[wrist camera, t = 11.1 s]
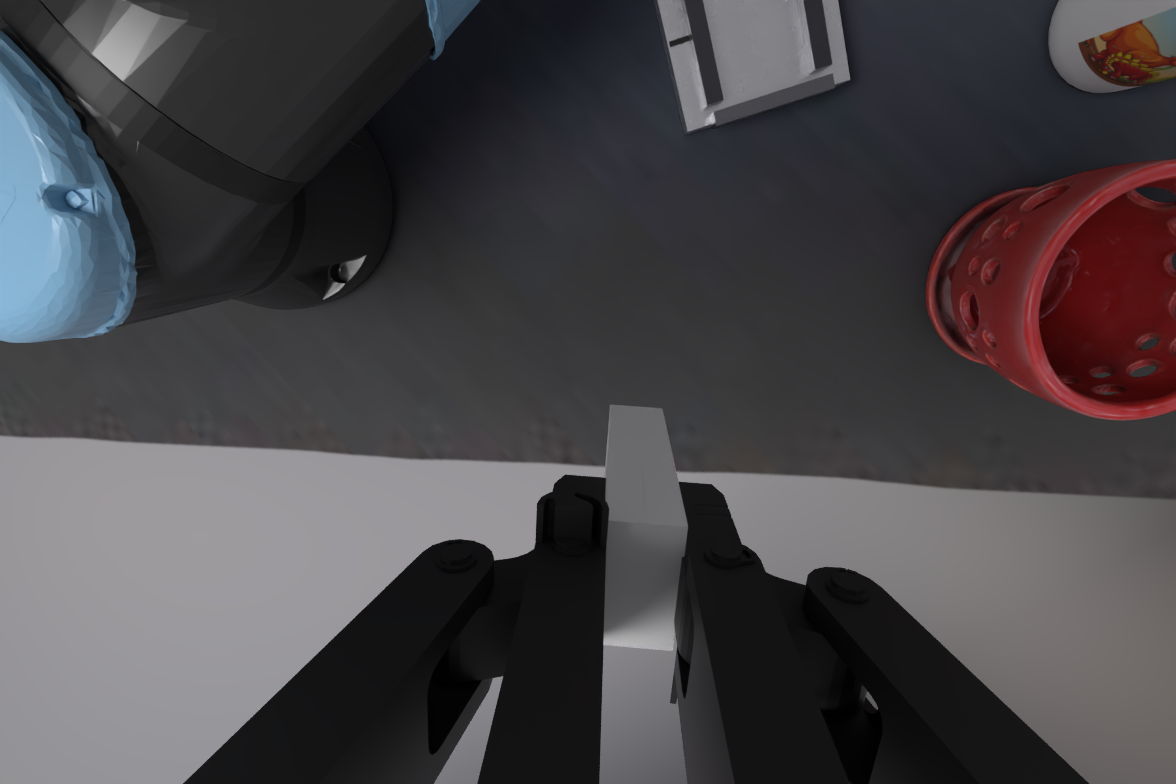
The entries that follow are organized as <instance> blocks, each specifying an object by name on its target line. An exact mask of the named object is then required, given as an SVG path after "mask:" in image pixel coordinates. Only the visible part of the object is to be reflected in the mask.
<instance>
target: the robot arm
mask: <svg viewBox="0 0 1176 784" xmlns="http://www.w3.org/2000/svg"><path fill="white" fill-rule="evenodd" d="M480 1H481V0H0V340H2V341H5V342H11V343H31V342H41V341H49V340H58V339H67V338H75V337H78V338H88V337H91V336H98V335H103V333H107V332H111V331H112V330H113V329H114V328H117V327H121V326H125V325H129V324H133V323H137V322H141V321H145V320H149V319H153V318H157V317H161V316H166V315H170V314H174V313H178V312H182V311H186V310H190V309H194V308H198V307H202V306H206V305H210V304H214V303H218V302H222V301H226V300H230V299H234V300H238V301H242V302H245V303H249V304H253V305H257V306H261V307H265V308H271V309H285V310H289V309H302V308H308V307H313V306H316V305H320V304H323V303H326V302H329V301H332V300H335V299H337V298H340V297H342V296H344V295H346V294H347V293H349V292H351V291H352V290H354V289H355V288H356V287H358V286H359V285H360V284H361V283H362V282H364V280H365V279H366V278H367V277H368V276H369V275H370V274H371V273H372V272H373V270H374V269H375V267H376V266H377V264H378V263H379V261H380V259H381V257H382V255H383V253H384V251H385V248H386V246H387V243H388V240H389V236H390V232H391V226H392V218H393V198H392V190H391V184H390V179H389V175H388V172H387V169H386V166H385V163H384V160H383V158H382V156H381V153H380V151H379V149H378V147H377V145H376V143H375V142H374V140H373V138H372V137H371V135H370V134H369V132H368V131H367V129H366V128H365V127H364V125H365V124H366V123H367V122H368V121H369V120H370V119H371V118H372V117H373V116H374V115H375V114H376V113H377V112H378V111H379V110H380V109H381V108H382V107H383V106H384V105H385V103H386V102H387V101H388V100H389V99H390V98H391V97H392V96H393V95H394V94H395V93H396V92H397V91H398V90H399V89H400V88H401V87H402V86H403V85H404V84H405V83H406V82H407V81H408V80H409V79H410V78H411V77H412V76H413V75H414V73H415V72H416V71H417V70H418V69H419V68H420V67H421V66H422V65H423V64H424V63H425V62H426V61H427V60H428V59H429V58H430V59H432V60H435V59H436V58H437V57H438V56H440V54H441V53H442V51H443V50H444V45H445V41H446V39H447V38H448V37H449V36H450V35H451V34H452V33H453V31H454V30H455V29H456V28H457V27H458V26H459V25H460V23H461V22H462V21H463V20H464V19H465V18H466V17H467V15H468V14H469V13H470V12H471V11H472V10H473V9H474V8H475V6H476V5H477V4H478V3H479V2H480ZM536 522H537V523H536V543H535V548H534V550H532V551H530V552H529V553H527V554H524V555H521V556H519V557H515V558H510V559H503V560H495V561H494V558H493V554H492V551H490V549H488V548H487V547H486V546H485V545H483V544H480V543H477V542H475V541H469V540H462V539H458V540H448V541H444V542H441V543H439V544H435V545H432V546H431V547H429V548H428V549H426V550H425V551H424V552H422V553H421V554H420V555H419V556H418V557H417V558H416V559H415V560H414V561H413V562H412V563H411V564H410V565H409V566H408V567H407V568H406V569H405V570H404V571H403V572H402V573H401V574H399V575H398V577H397V578H395V579H394V580H393V581H392V582H391V583H390V584H389V585H388V586H387V587H386V588H385V589H384V590H383V591H382V592H381V593H380V594H379V595H378V596H377V597H376V598H375V599H374V600H373V601H372V602H371V603H370V604H369V605H367V607H365V608H364V609H363V610H362V611H361V612H360V613H359V614H358V615H357V616H356V617H355V618H354V619H353V620H352V621H351V622H350V623H349V624H348V625H347V626H346V627H345V628H344V629H343V630H342V631H341V632H339V633H338V634H337V636H335V637H334V638H333V639H332V640H331V641H330V642H329V643H328V644H327V645H326V646H325V647H324V648H323V649H322V650H321V651H320V652H319V653H318V654H317V655H316V656H315V657H314V658H313V659H312V660H311V661H310V662H309V663H307V664H306V665H305V666H304V667H303V668H302V669H301V670H300V671H299V672H298V673H297V674H296V675H295V676H294V677H293V678H292V679H291V680H290V681H289V682H288V683H287V684H286V685H285V686H284V687H283V688H282V689H281V690H280V691H279V692H277V693H276V694H275V695H274V696H273V697H272V698H271V699H270V700H269V701H268V702H267V703H266V704H265V705H264V706H263V707H262V708H261V709H260V710H259V711H258V712H257V713H256V714H255V715H254V716H253V717H252V718H251V719H250V720H249V721H247V722H246V724H244V725H243V726H242V727H241V728H240V729H239V730H238V731H237V732H236V733H235V734H234V735H233V736H232V737H231V738H230V739H229V740H228V741H227V742H226V743H225V744H224V745H223V746H222V747H221V748H220V749H219V750H217V751H216V752H215V753H214V754H213V755H212V756H211V757H210V758H209V759H208V760H207V761H206V762H205V763H204V764H203V765H202V766H201V767H200V768H199V769H198V770H197V771H196V772H195V773H194V774H193V775H192V776H191V777H190V778H189V779H188V780H187V781H186V782H184V783H183V784H434V782H435V780H436V779H437V777H438V775H439V774H440V772H441V770H442V769H443V767H444V765H445V763H446V762H447V760H448V759H449V757H450V755H451V753H452V752H453V750H454V748H455V746H456V745H457V743H458V742H459V740H460V738H461V737H462V735H463V733H464V731H465V730H466V728H467V726H468V725H469V723H470V721H471V720H472V718H473V716H474V715H475V713H476V711H477V709H478V708H479V706H480V704H481V703H482V701H483V699H484V698H485V696H486V694H487V693H488V691H489V688H490V685H491V682H492V678H495V677H501V676H503V680H502V684H501V688H500V693H499V697H498V701H497V705H496V709H495V713H494V717H493V722H492V726H491V730H490V734H489V738H488V742H487V746H486V751H485V755H484V759H483V763H482V767H481V771H480V775H479V779H478V784H599V770H600V738H601V704H602V673H603V645H610V646H622V647H634V648H647V649H658V650H669V651H673V643H674V635H675V633H676V640H677V653H676V661H675V669H674V676H673V684H672V693H671V700H670V703H674V704H676V701H677V698H678V706H679V714H680V723H681V732H682V740H683V749H684V757H685V765H686V774H687V783H688V784H1089V783H1088V782H1087V781H1086V780H1085V779H1084V778H1083V777H1081V776H1080V775H1079V774H1078V773H1077V772H1076V771H1075V770H1074V769H1073V768H1072V767H1071V766H1069V764H1068V763H1067V762H1066V761H1065V760H1064V759H1062V758H1061V757H1060V756H1059V755H1058V754H1057V753H1056V752H1055V751H1054V750H1053V749H1052V748H1051V747H1050V746H1048V744H1047V743H1045V742H1044V741H1043V740H1042V739H1041V738H1040V737H1039V736H1038V735H1037V734H1036V733H1035V732H1034V731H1033V730H1032V729H1031V728H1030V727H1029V726H1027V724H1025V723H1024V722H1023V721H1022V720H1021V719H1020V718H1019V717H1018V716H1017V715H1016V714H1015V713H1014V712H1012V710H1011V709H1010V708H1008V707H1007V706H1006V705H1005V704H1004V703H1003V702H1002V701H1001V700H1000V699H999V698H998V697H997V696H996V695H995V694H994V693H993V692H992V691H990V690H989V689H988V688H987V687H986V686H985V685H984V684H983V683H982V682H981V681H980V680H979V679H978V678H977V677H976V676H975V675H973V674H972V673H971V672H970V671H969V670H968V669H967V668H966V667H965V666H964V665H963V664H962V663H961V662H960V661H959V660H958V659H957V658H956V657H955V656H954V655H952V654H951V653H950V652H949V651H948V650H947V649H946V648H945V647H944V646H943V645H942V644H941V643H940V642H939V641H938V640H936V638H934V637H933V636H932V635H931V634H930V633H929V632H928V631H927V630H926V629H925V628H924V627H923V626H922V625H921V624H920V623H919V622H918V621H917V620H915V619H914V618H913V617H912V616H911V615H910V614H909V613H908V612H907V611H906V610H905V609H904V608H903V607H902V606H901V605H899V603H897V602H896V601H895V600H894V599H893V598H892V597H891V596H890V595H889V594H888V593H887V592H886V591H885V590H884V589H883V588H882V587H880V586H879V585H878V584H876V583H875V582H873V581H872V580H871V579H869V578H867V577H865V576H863V575H861V574H858V573H857V572H855V571H852V570H849V569H848V570H846V569H845V568H835V567H823V568H819V569H815V570H813V571H812V572H811V573H810V574H809V575H808V577H807V582H806V585H803V584H799V583H795V582H792V581H788V580H784V579H781V578H778V577H775V576H773V575H770V574H768V573H766V572H765V570H764V567H763V564H762V562H761V560H760V558H759V557H758V556H757V554H756V553H755V552H754V551H752V550H751V549H749V548H748V547H746V546H745V545H742V544H741V541H740V538H739V536H738V533H737V530H736V527H735V525H734V522H733V519H732V518H731V514H730V511H729V509H728V506H727V503H726V500H725V497H724V495H723V494H722V493H721V492H720V491H718V490H717V489H716V488H715V487H714V486H713V485H712V484H700V483H687V482H678V478H677V473H676V469H675V464H674V460H673V455H672V450H671V446H670V441H669V437H668V432H667V428H666V423H665V418H664V414H663V409H662V408H650V407H636V406H622V405H610V412H609V425H608V439H607V452H606V465H605V478H601V477H588V476H575V475H564V476H563V477H562V478H561V479H559V480H558V481H557V482H556V483H555V484H554V488H553V492H550V493H548V494H546V495H544V496H543V497H541V499H540V500H539V501H538V503H537V521H536ZM867 691H868V692H869V693H870V694H871V696H872V697H873V699H874V701H875V702H876V704H877V706H878V710H877V709H875V708H874V707H873V706H872V704H871V703H870V702H869V701H868V699H867V698H866V693H867Z"/></svg>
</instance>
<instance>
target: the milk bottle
mask: <svg viewBox="0 0 1176 784" xmlns="http://www.w3.org/2000/svg"><path fill="white" fill-rule="evenodd" d="M1048 48H1049V56H1050V58H1051V60H1052V63H1053V66H1054V68H1055V69H1056V71H1057V72H1058V74H1059V75H1060V76H1061V77H1062V78H1063V79H1064V80H1065V81H1066V82H1067V83H1069V84H1071V85H1073V86H1074V87H1076V88H1078V89H1080V90H1083V91H1086V92H1091V93H1110V92H1116V91H1121V90H1126V89H1131V88H1135V87H1139V86H1144V85H1148V84H1152V83H1157V82H1161V81H1165V80H1170V79H1174V78H1176V0H1059V1H1058V3H1057V5H1056V7H1055V10H1054V12H1053V15H1052V17H1051V22H1050V26H1049V30H1048Z"/></svg>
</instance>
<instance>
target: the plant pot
mask: <svg viewBox="0 0 1176 784" xmlns="http://www.w3.org/2000/svg"><path fill="white" fill-rule="evenodd" d="M1139 187H1156V188H1161V189H1164V190H1167V191H1170V192H1171V193H1172V194H1174V195H1175V196H1176V159H1168V160H1155V161H1145V162H1136V163H1129V164H1122V165H1116V166H1110V167H1105V168H1100V169H1096V170H1091V171H1086V172H1082V173H1078V174H1074V175H1071V176H1068V177H1065V178H1062V179H1059V180H1056V181H1053V182H1050V183H1048V184H1045V185H1043V186H1040V187H1026V188H1019V189H1015V190H1010V191H1007V192H1003V193H1001V194H998V195H996V196H993V197H991V198H989V199H987V200H985V201H983V202H981V203H980V204H978V205H977V206H975V207H974V208H972V209H971V210H970V211H968V212H967V213H966V214H965V215H964V216H962V217H961V218H960V219H959V220H958V221H957V222H956V223H955V224H954V225H953V226H952V227H951V229H950V230H949V231H948V232H947V234H946V235H945V237H944V238H943V239H942V241H941V242H940V244H939V246H938V248H937V250H936V252H935V254H934V256H933V259H932V261H931V264H930V268H929V271H928V276H927V281H926V291H925V292H926V306H927V310H928V314H929V317H930V319H931V321H932V324H933V326H934V328H935V330H936V331H937V333H938V334H939V336H940V337H941V338H942V340H943V341H944V342H945V343H946V344H947V345H948V346H949V347H950V348H951V349H953V350H954V351H955V352H957V353H958V354H960V355H961V356H963V357H965V358H967V359H969V360H972V361H974V362H977V363H981V364H986V365H988V366H989V367H991V368H992V369H993V370H995V371H996V372H998V373H999V374H1000V375H1002V376H1003V377H1005V378H1006V379H1008V380H1009V381H1010V382H1012V383H1013V384H1015V385H1017V386H1018V387H1020V388H1022V389H1024V390H1026V391H1028V392H1030V393H1032V394H1034V395H1036V396H1038V397H1040V398H1043V399H1045V400H1047V401H1049V402H1051V403H1054V404H1056V405H1059V406H1061V407H1064V408H1066V409H1069V410H1072V411H1075V412H1077V413H1081V414H1084V415H1087V416H1091V417H1095V418H1100V419H1107V420H1136V419H1143V418H1150V417H1154V416H1158V415H1162V414H1165V413H1168V412H1172V411H1175V410H1176V353H1175V351H1176V315H1175V308H1176V270H1175V269H1174V267H1173V265H1172V257H1173V255H1174V254H1175V253H1176V202H1170V203H1164V202H1157V201H1153V200H1150V199H1148V198H1146V197H1144V196H1142V195H1140V194H1139V193H1137V191H1136V190H1135V188H1139ZM1154 338H1158V339H1159V340H1158V343H1157V344H1156V345H1155V346H1154V347H1152V348H1150V349H1147V350H1142V349H1140V348H1141V345H1142V344H1143V343H1144V342H1146V341H1147V340H1150V339H1154ZM1149 365H1153V366H1156V367H1157V369H1156V370H1155V372H1153V373H1152V374H1150V375H1147V376H1143V377H1132V376H1130V374H1131V373H1132V372H1133V371H1135V370H1136V369H1138V368H1141V367H1145V366H1149ZM1098 373H1109V374H1112V375H1110V376H1107V377H1103V378H1096V377H1092V376H1093V375H1096V374H1098ZM1106 392H1116V394H1111V395H1102V394H1100V393H1106Z"/></svg>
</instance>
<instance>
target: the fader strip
mask: <svg viewBox="0 0 1176 784" xmlns="http://www.w3.org/2000/svg"><path fill="white" fill-rule="evenodd" d="M653 3H654V7H655V11H656V15H657V20H658V24H659V28H660V33H661V37H662V41H663V46H664V50H665V54H666V59H667V63H668V67H669V72H670V76H671V80H672V85H673V89H674V93H675V98H676V102H677V106H678V111H679V115H680V119H681V124H682V128H683V132H684V135H688V134H691V133H694V132H697V131H700V130H703V129H706V128H709V127H712V129H715V128H718V127H721V126H724V125H727V124H730V123H733V122H737V121H740V120H743V119H746V118H749V117H752V116H755V115H758V114H762V113H765V112H768V111H771V110H774V109H777V108H780V107H783V106H787V105H790V104H793V103H796V102H799V101H802V100H805V99H808V98H811V97H815V96H818V95H821V94H824V93H827V92H828V91H830V90H832V89H834V88H835V87H837V86H839V85H841V84H843V83H845V82H847V81H849V80H850V74H849V68H848V61H847V55H846V48H845V42H844V35H843V29H842V22H841V16H840V9H839V3H838V0H653Z"/></svg>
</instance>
